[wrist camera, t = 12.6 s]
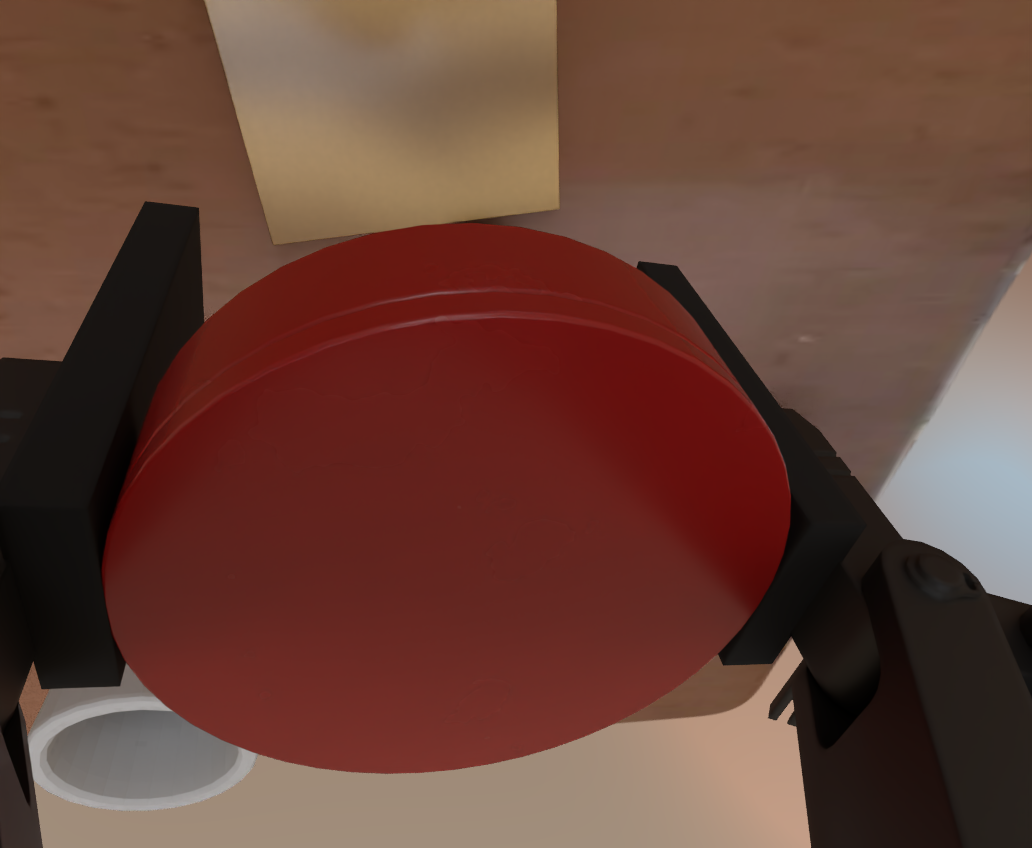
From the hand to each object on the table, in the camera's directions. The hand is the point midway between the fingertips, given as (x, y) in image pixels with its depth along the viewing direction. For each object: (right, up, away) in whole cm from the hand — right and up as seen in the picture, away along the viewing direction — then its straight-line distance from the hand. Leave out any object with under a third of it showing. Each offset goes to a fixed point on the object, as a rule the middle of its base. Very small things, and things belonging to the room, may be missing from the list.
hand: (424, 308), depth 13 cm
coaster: (-2, +10, +12) cm, 16 cm away
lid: (+1, -4, -5) cm, 6 cm away
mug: (-14, -9, +25) cm, 30 cm away
